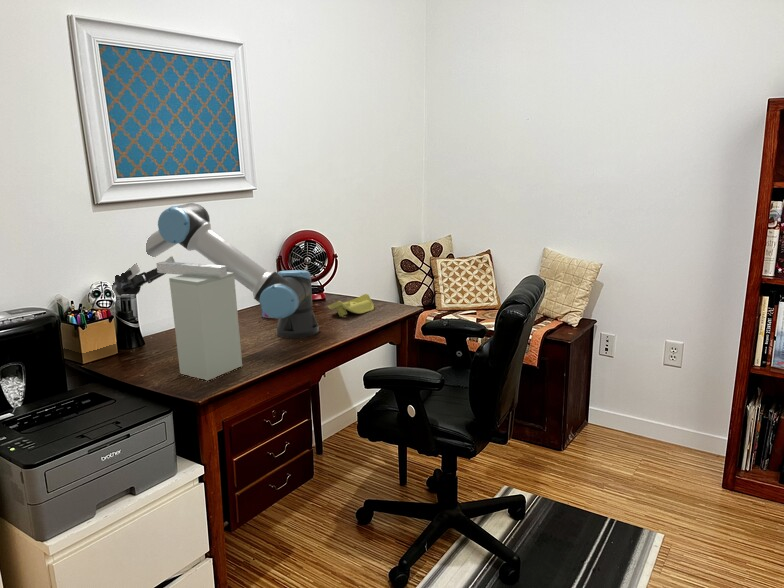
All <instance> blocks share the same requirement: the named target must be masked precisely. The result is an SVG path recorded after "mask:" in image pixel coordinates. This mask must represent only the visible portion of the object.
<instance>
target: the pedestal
mask: <svg viewBox="0 0 784 588" xmlns="http://www.w3.org/2000/svg"><path fill="white" fill-rule="evenodd" d="M168 282H169V291H170V297H171V305H172V306H171V307H172V315H173V323H174V331H175V341H176V350H177V357H178V358H177V359H178V366H179V367H178V368H179V374H180V373H181V374H185V375H189V376H193V377H197V378H201V379H205V380H209V379H211V378H213V377H216V376H218V375H220V374H222V373H225V372H227V371H230V370H232V369H235V368H237V367H240V366H242V367H243V359H242V358H243V357H242V348H241V347H242V345H241V337H240V325H239V314H238V313H239V312H238V304H237V303H238V302H237V293H236V283H235V282H236V279H234V273H232V272H227V276H225V277H222V278H215V277H203V276H191V275H177V276H173V277H169V281H168Z"/></svg>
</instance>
